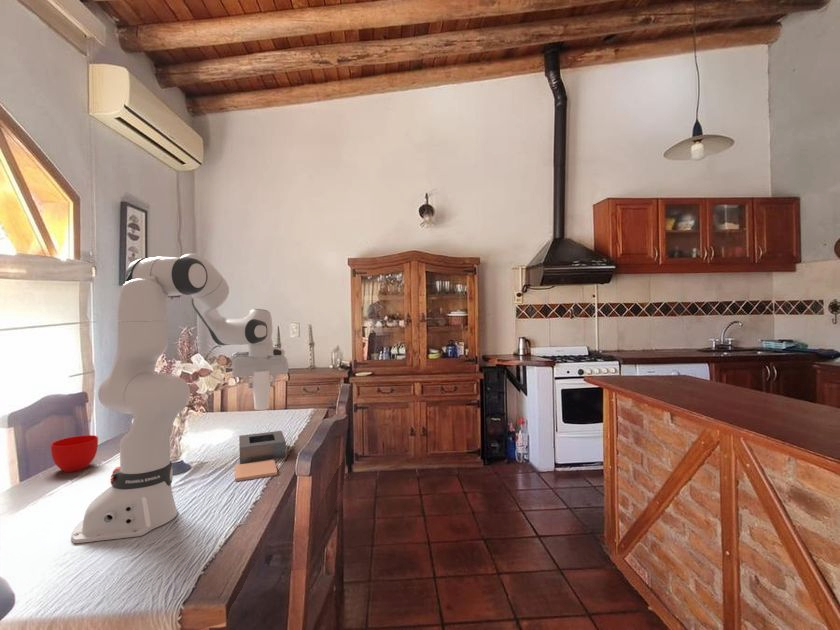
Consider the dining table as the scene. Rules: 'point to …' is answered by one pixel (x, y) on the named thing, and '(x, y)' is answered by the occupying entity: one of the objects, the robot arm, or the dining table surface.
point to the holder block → (262, 447)
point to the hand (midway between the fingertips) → (261, 387)
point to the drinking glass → (261, 389)
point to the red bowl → (74, 452)
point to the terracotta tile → (255, 470)
